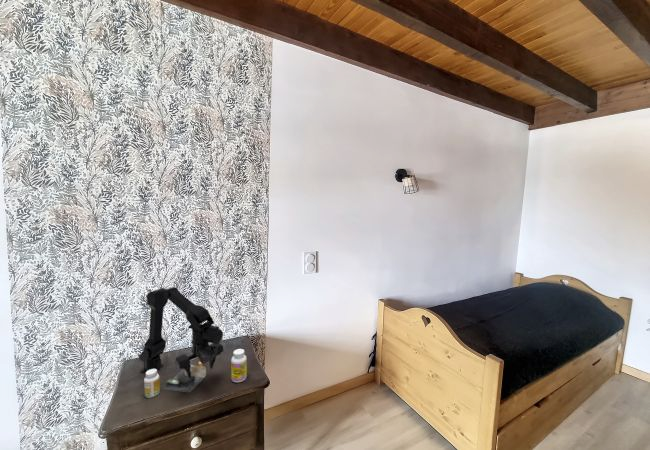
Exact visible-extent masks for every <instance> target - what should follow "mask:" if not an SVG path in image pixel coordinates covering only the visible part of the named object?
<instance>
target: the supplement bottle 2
mask: <svg viewBox="0 0 650 450" xmlns="http://www.w3.org/2000/svg"><path fill="white" fill-rule="evenodd" d="M232 353H233V356H232V357H231V359H230V362H231V363H230V364H231V365H230V366H231V368H230V370H231V375H230V377H231V378H230V379H231V381H232V382H233V383H239V384H240V383H242V382H244V381H245V380H246V379H247V376H248V375H247V373H248V370H247V369H248V367H247V366H248V365H247V363H248V360H247V355H245V349H243V348H237V349H235V350H234V351H233V352H232Z"/></svg>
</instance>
